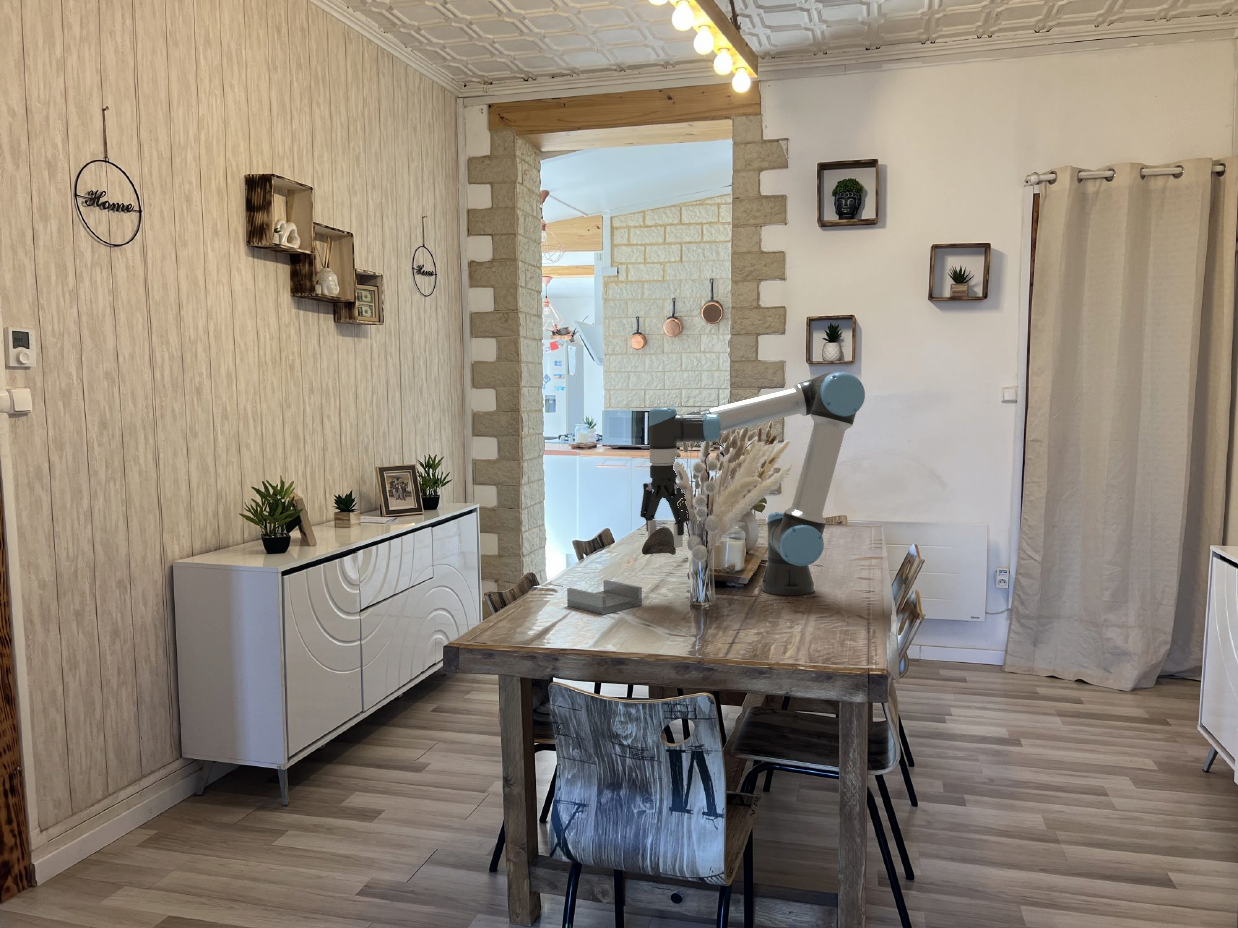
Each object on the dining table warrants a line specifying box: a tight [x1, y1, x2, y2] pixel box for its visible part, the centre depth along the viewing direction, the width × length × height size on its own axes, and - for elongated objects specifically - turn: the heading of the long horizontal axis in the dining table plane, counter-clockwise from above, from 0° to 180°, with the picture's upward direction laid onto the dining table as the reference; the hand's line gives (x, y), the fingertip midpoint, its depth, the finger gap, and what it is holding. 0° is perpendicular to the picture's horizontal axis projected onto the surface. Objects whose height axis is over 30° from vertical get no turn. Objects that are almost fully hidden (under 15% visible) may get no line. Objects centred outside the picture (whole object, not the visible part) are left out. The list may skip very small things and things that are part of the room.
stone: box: [641, 526, 677, 556], centre depth 248 cm, size 10×8×10 cm
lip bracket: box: [566, 579, 643, 616], centre depth 248 cm, size 14×15×5 cm
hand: (665, 545), depth 249 cm, fingers closed on stone, 9 cm apart
